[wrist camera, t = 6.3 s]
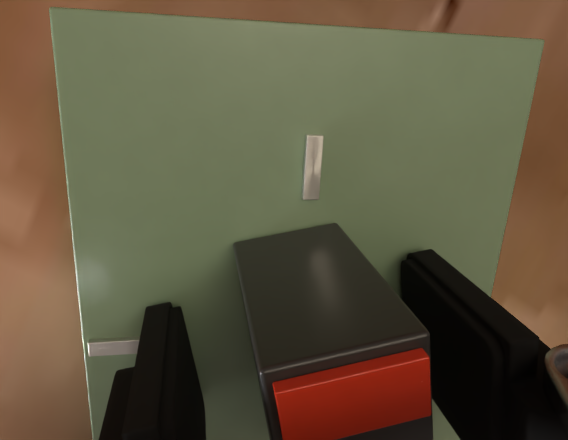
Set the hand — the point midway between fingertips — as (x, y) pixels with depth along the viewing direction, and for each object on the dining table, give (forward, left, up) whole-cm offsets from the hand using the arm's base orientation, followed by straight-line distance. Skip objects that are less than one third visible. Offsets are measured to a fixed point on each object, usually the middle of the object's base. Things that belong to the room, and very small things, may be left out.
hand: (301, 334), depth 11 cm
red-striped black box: (0, 0, 0) cm, 0 cm away
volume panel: (0, 0, -3) cm, 3 cm away
